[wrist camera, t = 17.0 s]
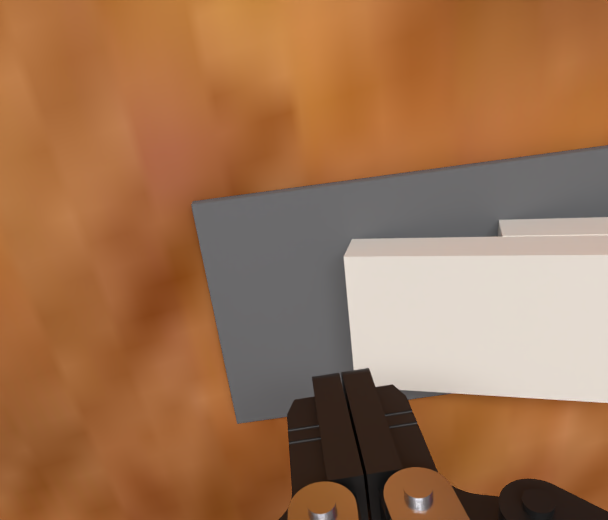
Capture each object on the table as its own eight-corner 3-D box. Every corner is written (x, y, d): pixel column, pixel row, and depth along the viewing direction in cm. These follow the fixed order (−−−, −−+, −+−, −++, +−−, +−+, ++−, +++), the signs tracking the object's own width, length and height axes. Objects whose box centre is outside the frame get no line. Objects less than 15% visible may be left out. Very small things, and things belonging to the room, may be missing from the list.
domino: (355, 387, 19) (682, 407, 16) (343, 256, 17) (712, 253, 14) (362, 361, 20) (663, 376, 17) (352, 238, 18) (688, 233, 15)
